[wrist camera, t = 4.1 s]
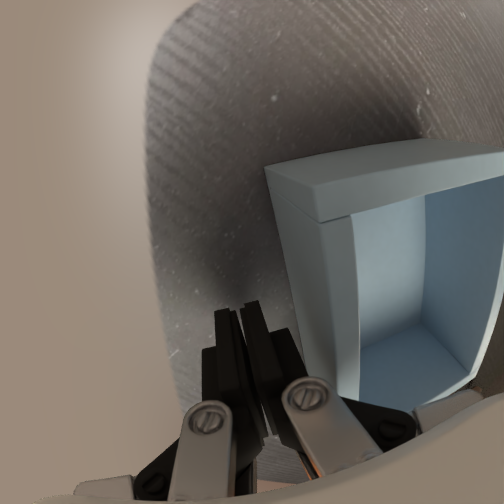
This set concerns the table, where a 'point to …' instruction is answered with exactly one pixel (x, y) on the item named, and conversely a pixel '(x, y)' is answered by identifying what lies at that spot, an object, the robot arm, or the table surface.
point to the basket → (394, 264)
